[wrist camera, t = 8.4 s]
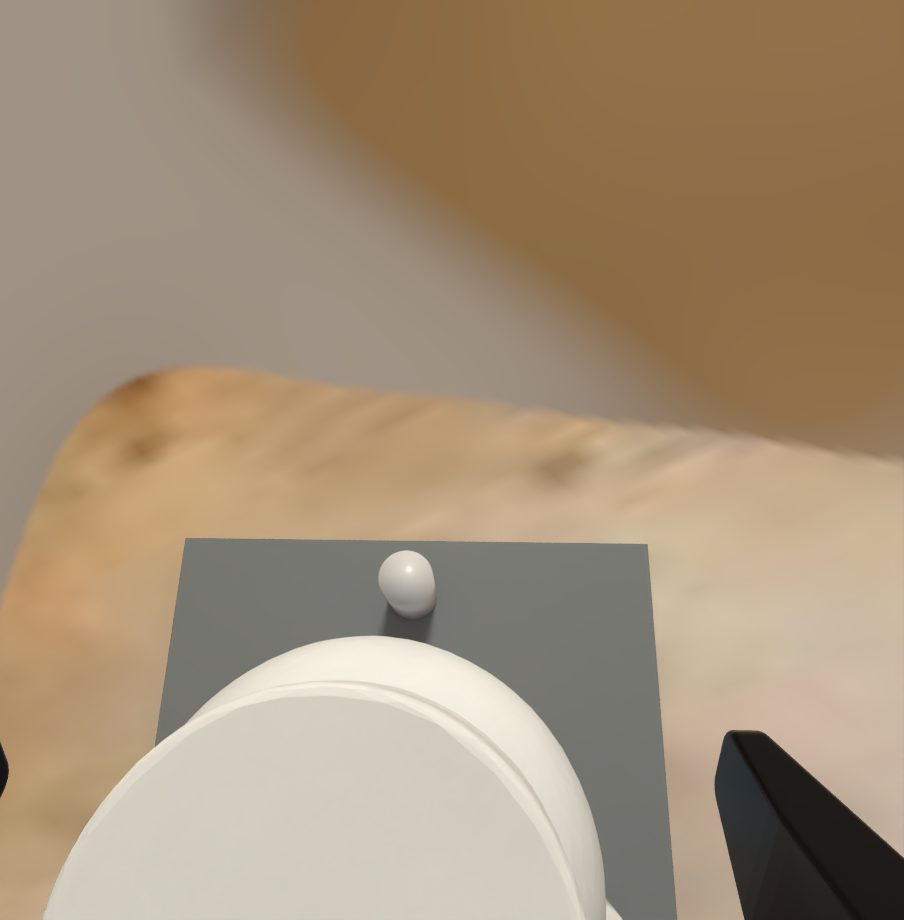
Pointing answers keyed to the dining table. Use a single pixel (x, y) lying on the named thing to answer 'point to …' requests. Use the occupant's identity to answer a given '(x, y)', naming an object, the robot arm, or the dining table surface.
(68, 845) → the dining table surface
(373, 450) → the dining table surface
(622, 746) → the pin tray
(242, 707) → the pill bottle
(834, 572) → the dining table surface
